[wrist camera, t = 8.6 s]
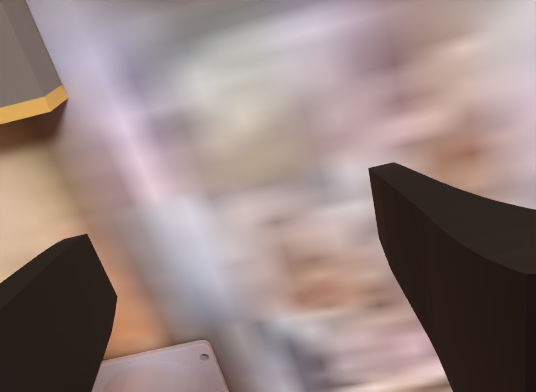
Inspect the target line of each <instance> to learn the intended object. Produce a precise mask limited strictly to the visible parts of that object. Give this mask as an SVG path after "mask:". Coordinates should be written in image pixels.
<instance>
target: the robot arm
mask: <svg viewBox="0 0 536 392" xmlns="http://www.w3.org/2000/svg"><path fill="white" fill-rule="evenodd" d="M368 169H369V176H370V182H371V189H372V195H373V202H374V208H375V215H376V221H377V228H378V234H379V239H380V242H381V245H382V247H383V250H384V253H385V255H386V258H387V260H388V263H389V265H390V268H391V270H392V272H393V274H394V276H395V278H396V280H397V281H398V283H399V285H400V287H401V289H402V290H403V292H404V294H405V296H406V298H407V299H408V301H409V303H410V305H411V307H412V308H413V310H414V312H415V314H416V316H417V317H418V319H419V321H420V323H421V324H422V326H423V328H424V330H425V332H426V333H427V335H428V337H429V339H430V341H431V343H432V345H433V347H434V349H435V351H436V353H437V355H438V357H439V359H440V362H441V364H442V367H443V369H444V371H445V374H446V376H447V378H448V381H449V383H450V385H451V388H452V390H453V392H536V210H535V209H529V208H524V207H520V206H516V205H512V204H507V203H503V202H499V201H495V200H491V199H488V198H484V197H481V196H478V195H475V194H472V193H469V192H466V191H463V190H460V189H458V188H455V187H452V186H450V185H447V184H444V183H442V182H440V181H437V180H435V179H432V178H430V177H428V176H425V175H423V174H421V173H418V172H416V171H414V170H412V169H409V168H407V167H405V166H402V165H400V164H397V163H394V162H393V163H389V164H384V165H380V166H376V167H371V168H368ZM116 303H117V295H116V293H115V291H114V289H113V287H112V284H111V282H110V280H109V278H108V276H107V274H106V272H105V270H104V268H103V266H102V264H101V262H100V260H99V257H98V255H97V253H96V251H95V249H94V247H93V245H92V243H91V241H90V239H89V237H88V235H87V234H84V235H80V236H75V237H71V238H67V239H64V240H62V241H60V242H58V243H56V244H54V245H53V246H51V247H50V248H48V249H47V250H45V251H44V252H42V253H41V254H39V255H38V256H37V257H35V258H34V259H32V260H31V261H30V262H28V263H27V264H26V265H24V266H23V267H22V268H20V269H19V270H18V271H16V272H15V273H14V274H12V275H11V276H10V277H8V278H7V279H5V280H4V281H3V282H1V283H0V392H229V390H228V387H227V385H226V382H225V380H224V377H223V375H222V372H221V370H220V367H219V364H218V362H217V359H216V357H215V354H214V352H213V349H212V347H211V344H210V343H209V342H208V341H206V340H198V341H193V342H188V343H184V344H179V345H174V346H170V347H165V348H160V349H156V350H151V351H146V352H142V353H137V354H132V355H128V356H123V357H118V358H114V359H109V360H104V361H102V360H103V357H104V354H105V351H106V348H107V345H108V341H109V338H110V335H111V332H112V327H113V322H114V316H115V310H116ZM202 354H207V355H206V356H203V355H202Z"/></svg>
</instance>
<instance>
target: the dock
mask: <svg viewBox="0 0 536 392" xmlns="http://www.w3.org/2000/svg"><path fill="white" fill-rule="evenodd" d="M67 98H68V97H67V95H66V92H65V90H64V88H63V86H62V83H61V81H60V79H59V76H58V74H57V72H56V70H55V67H54V65H53V63H52V60H51V58H50V56H49V53H48V51H47V49H46V47H45V44H44V42H43V40H42V37H41V35H40V33H39V31H38V28H37V26H36V24H35V21H34V19H33V17H32V15H31V12H30V10H29V8H28V5H27V3H26V1H25V0H0V124H3V123H7V122H11V121H15V120H19V119H23V118H27V117H31V116H35V115H39V114H43V113H47V112H51V111H52V110H53V109H55V108H56V107H57V106H58V105H60V104H61V103H62V102H63V101H65V100H66V99H67Z"/></svg>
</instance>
